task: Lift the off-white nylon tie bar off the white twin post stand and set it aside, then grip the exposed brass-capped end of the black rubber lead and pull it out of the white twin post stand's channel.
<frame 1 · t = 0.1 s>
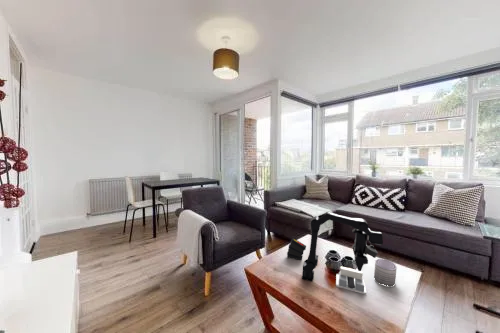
hand: (358, 267, 118), 14 cm above the table, fingers open, 9 cm apart
magazine: (296, 258, 152), on the table
can: (384, 281, 128), on the table
lead: (350, 277, 126), point 3 cm above the table, slide at 0.0 cm
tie: (350, 276, 124), point 5 cm above the table, touching white twin post stand
white twin post stand: (350, 284, 124), on the table
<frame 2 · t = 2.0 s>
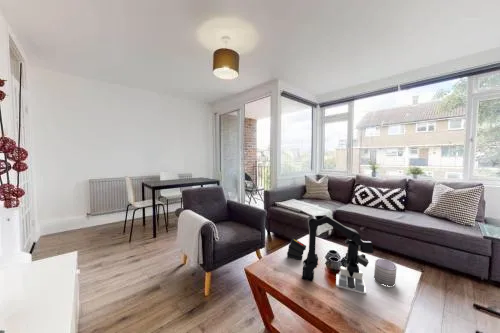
hand: (350, 275, 124), 6 cm above the table, fingers closed on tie, 2 cm apart
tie: (350, 276, 124), point 5 cm above the table, touching white twin post stand, gripper
everything else where it was.
when the fingers open (2 cm above the table, at t = 4.6 s): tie drops 2 cm, on the table.
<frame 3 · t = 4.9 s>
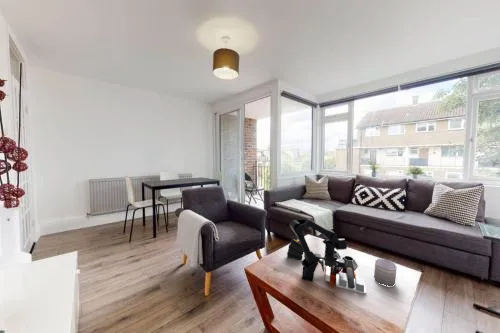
hand: (328, 272, 132), 2 cm above the table, fingers open, 5 cm apart
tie: (327, 276, 132), on the table
everything else where it was.
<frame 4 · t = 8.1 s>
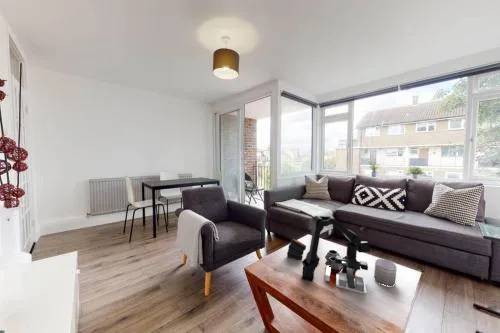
hand: (349, 275, 131), 2 cm above the table, fingers closed on lead, 4 cm apart
lead: (350, 277, 126), point 3 cm above the table, slide at 0.0 cm, touching gripper
everything else where it was.
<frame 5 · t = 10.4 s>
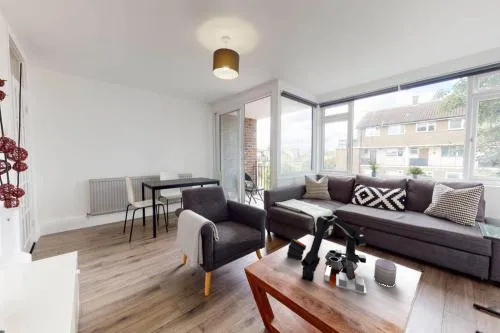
hand: (349, 268, 139), 2 cm above the table, fingers closed on lead, 4 cm apart
lead: (349, 269, 134), point 3 cm above the table, slide at 8.9 cm, touching gripper
everything else where it was.
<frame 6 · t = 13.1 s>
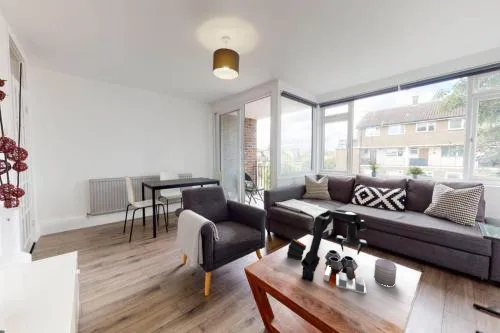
hand: (350, 253, 139), 12 cm above the table, fingers open, 9 cm apart
lead: (349, 269, 134), point 3 cm above the table, slide at 8.9 cm
everything else where it was.
at the end: lead slide at 8.9 cm; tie on the table; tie touching table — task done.
